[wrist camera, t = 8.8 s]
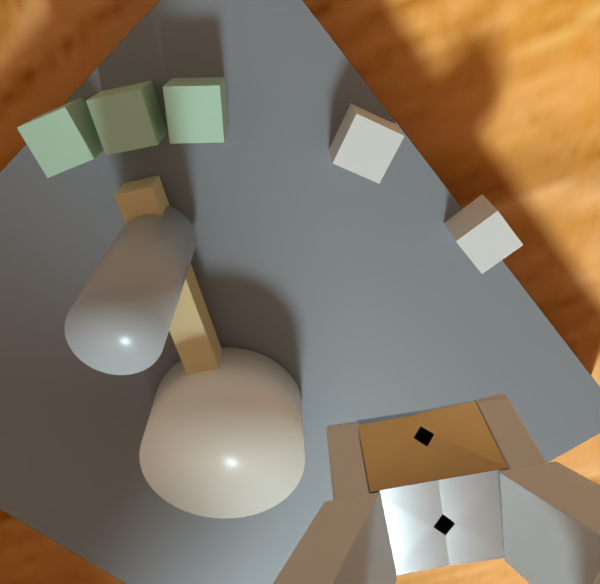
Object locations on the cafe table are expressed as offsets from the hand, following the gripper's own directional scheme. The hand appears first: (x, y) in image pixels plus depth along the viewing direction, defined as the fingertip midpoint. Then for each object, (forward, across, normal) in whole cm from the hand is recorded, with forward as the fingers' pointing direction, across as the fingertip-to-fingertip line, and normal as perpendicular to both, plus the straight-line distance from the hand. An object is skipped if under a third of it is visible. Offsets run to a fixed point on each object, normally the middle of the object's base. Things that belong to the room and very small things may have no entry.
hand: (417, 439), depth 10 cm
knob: (+11, +6, +4) cm, 13 cm away
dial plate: (+15, +6, +7) cm, 17 cm away
